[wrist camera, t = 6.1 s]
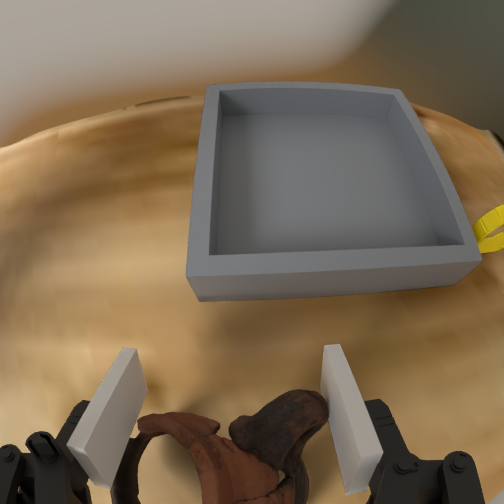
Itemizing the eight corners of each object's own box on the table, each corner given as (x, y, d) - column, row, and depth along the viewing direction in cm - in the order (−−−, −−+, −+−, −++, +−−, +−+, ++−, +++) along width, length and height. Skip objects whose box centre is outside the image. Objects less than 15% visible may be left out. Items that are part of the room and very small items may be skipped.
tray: (199, 301, 20) (185, 276, 16) (211, 118, 29) (206, 84, 25) (454, 284, 20) (482, 260, 16) (390, 119, 28) (400, 89, 25)
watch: (496, 231, 22) (533, 193, 17) (507, 258, 21) (547, 222, 16) (453, 234, 22) (493, 189, 16) (465, 264, 20) (510, 223, 15)
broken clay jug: (256, 562, 12) (159, 599, 6) (176, 468, 18) (79, 460, 13) (393, 436, 13) (359, 447, 7) (277, 349, 20) (193, 302, 14)
